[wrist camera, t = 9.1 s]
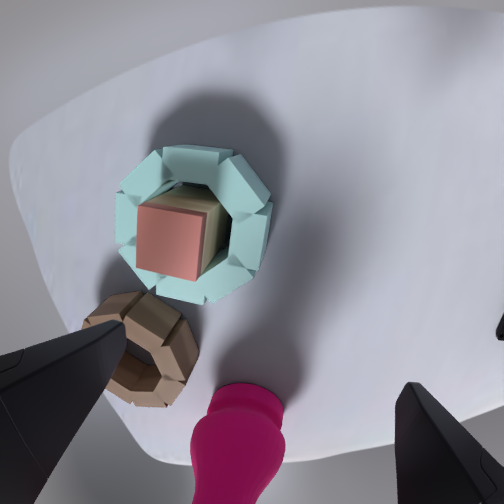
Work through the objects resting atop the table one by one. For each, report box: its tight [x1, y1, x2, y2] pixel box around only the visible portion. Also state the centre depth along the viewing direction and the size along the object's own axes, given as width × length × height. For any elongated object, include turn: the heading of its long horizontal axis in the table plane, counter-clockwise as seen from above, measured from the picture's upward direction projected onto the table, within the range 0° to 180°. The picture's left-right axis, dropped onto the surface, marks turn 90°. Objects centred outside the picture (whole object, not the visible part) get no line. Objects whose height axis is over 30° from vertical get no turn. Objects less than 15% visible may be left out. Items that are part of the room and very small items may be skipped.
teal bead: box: [115, 144, 273, 305], centre depth 19 cm, size 9×9×4 cm
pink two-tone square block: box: [136, 185, 228, 282], centre depth 18 cm, size 3×3×6 cm
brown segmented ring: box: [81, 291, 199, 408], centre depth 23 cm, size 9×9×4 cm
